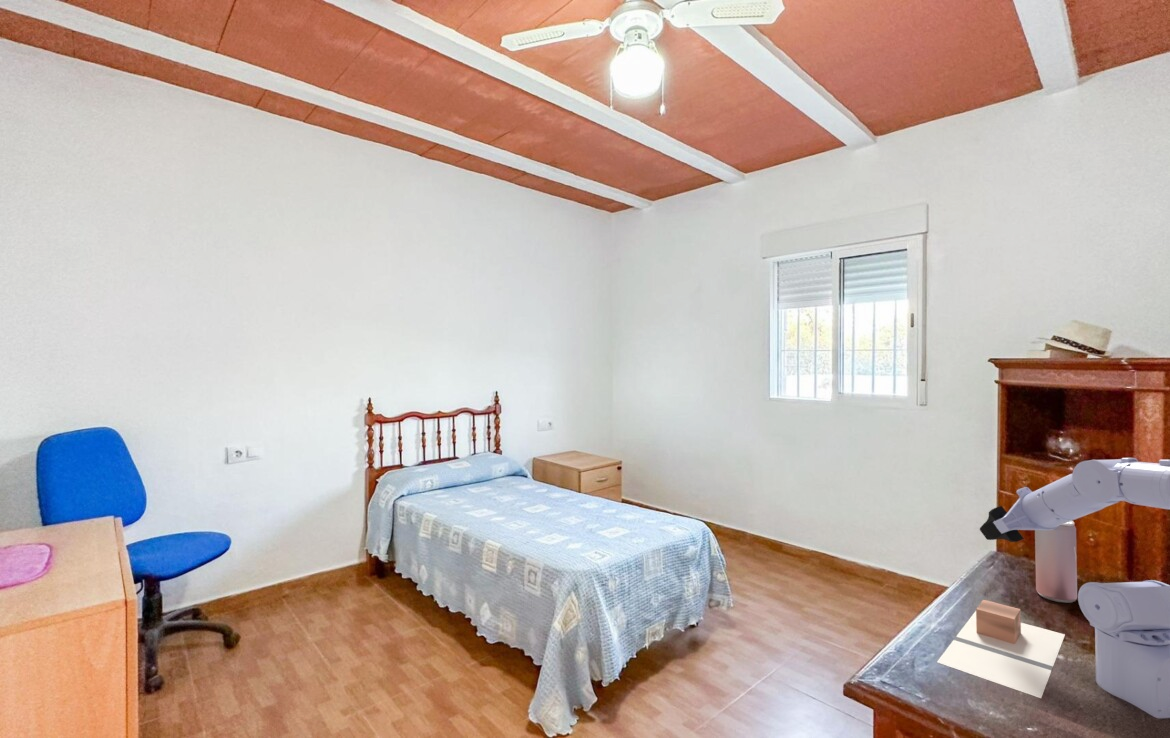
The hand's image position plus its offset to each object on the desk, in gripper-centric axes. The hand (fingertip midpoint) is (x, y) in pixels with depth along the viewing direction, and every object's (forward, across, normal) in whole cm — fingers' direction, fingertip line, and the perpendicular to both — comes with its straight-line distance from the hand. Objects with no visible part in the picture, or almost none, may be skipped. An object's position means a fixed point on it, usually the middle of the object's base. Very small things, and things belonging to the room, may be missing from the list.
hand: (1002, 526), depth 93 cm
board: (+1, +14, +16) cm, 21 cm away
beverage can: (+17, -14, +14) cm, 26 cm away
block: (+4, +10, +14) cm, 18 cm away
